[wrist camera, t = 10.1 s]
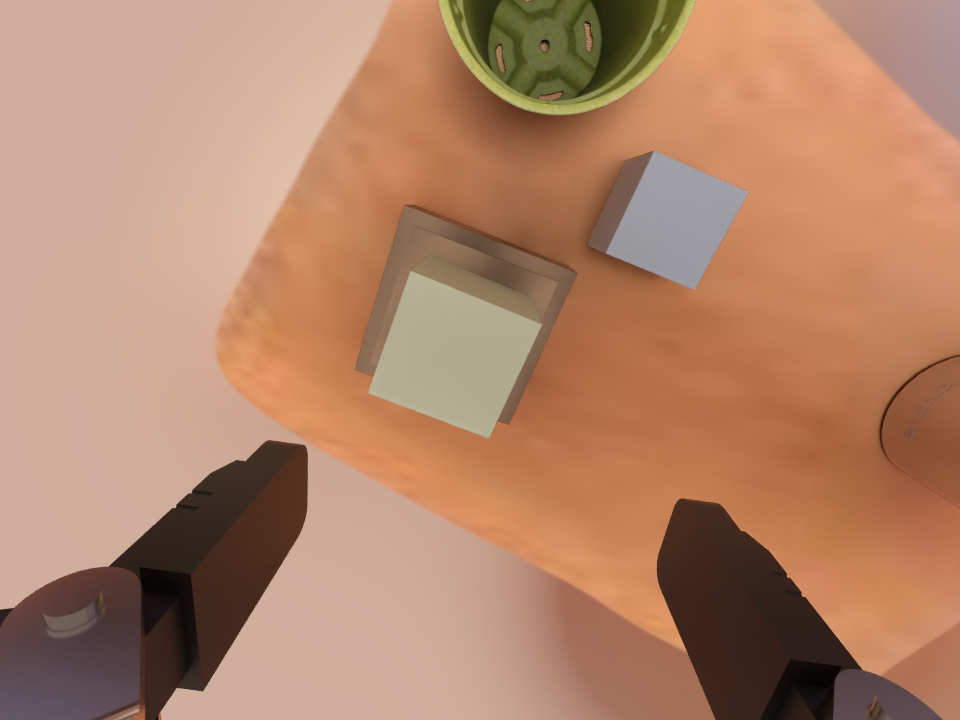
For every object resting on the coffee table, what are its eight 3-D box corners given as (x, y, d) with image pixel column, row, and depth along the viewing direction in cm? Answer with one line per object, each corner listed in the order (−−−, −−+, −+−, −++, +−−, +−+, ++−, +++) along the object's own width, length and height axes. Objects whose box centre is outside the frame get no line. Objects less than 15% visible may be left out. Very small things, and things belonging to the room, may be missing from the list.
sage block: (531, 297, 25) (542, 324, 19) (490, 388, 27) (488, 438, 21) (430, 255, 24) (410, 270, 18) (395, 352, 26) (367, 393, 20)
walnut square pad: (568, 266, 27) (577, 273, 24) (507, 404, 30) (509, 426, 27) (414, 205, 26) (403, 205, 23) (368, 353, 29) (353, 370, 26)
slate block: (702, 194, 26) (748, 192, 21) (659, 275, 27) (694, 289, 23) (624, 160, 25) (654, 150, 21) (586, 245, 27) (605, 253, 22)
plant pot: (434, -33, 23) (400, -169, 14) (621, -91, 22) (698, -273, 13) (477, 162, 25) (469, 142, 17) (643, 119, 24) (717, 76, 16)
